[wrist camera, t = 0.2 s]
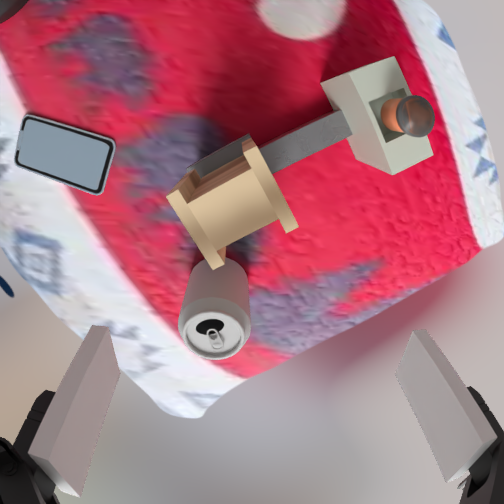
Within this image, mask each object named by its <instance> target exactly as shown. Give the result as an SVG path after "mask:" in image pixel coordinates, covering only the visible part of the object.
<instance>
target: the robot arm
mask: <svg viewBox="0 0 504 504" xmlns="http://www.w3.org/2000/svg"><path fill="white" fill-rule="evenodd" d="M28 1H29V0H0V23H2V22H4V21H6V20H8V19H9V18H10V17H12V16H13V15H14V14H16V13H17V12H18V11H19V10H20V9H21V8H22V7H23V6H24V5H25V4H26V3H27V2H28ZM395 376H396V378H397V379H398V382H399V384H400V385H401V387H402V389H403V391H404V393H405V395H406V397H407V399H408V401H409V403H410V405H411V407H412V410H413V411H414V414H415V415H416V418H417V420H418V422H419V424H420V426H421V428H422V430H423V432H424V435H425V437H426V439H427V441H428V443H429V445H430V447H431V450H432V452H433V454H434V456H435V459H436V461H437V463H438V465H439V468H440V470H441V472H442V475H443V477H444V479H445V482H446V483H447V482H449V481H452V480H454V479H457V478H459V477H461V476H462V475H463V474H464V473H465V472H466V471H467V470H469V472H470V475H469V476H468V477H467V478H466V479H465V480H464V481H462V483H460V485H459V486H458V489H460V488H461V487H462V486H463V485H464V484H465V483H466V484H465V487H464V488H463V494H462V497H461V500H460V504H504V431H503V430H502V428H501V426H500V425H499V423H498V422H497V420H496V418H495V417H494V415H493V414H492V412H491V411H489V407H488V406H487V404H485V401H484V400H483V398H482V397H481V395H480V394H479V393H478V392H477V391H476V390H475V389H473V388H472V387H471V386H470V387H466V386H465V384H464V383H463V381H462V380H461V379H460V377H459V375H458V374H457V372H456V371H455V370H454V368H453V367H452V365H451V364H450V362H449V361H448V359H447V358H446V357H445V355H444V354H443V353H442V351H441V349H440V348H439V347H438V346H437V344H436V343H435V341H434V340H433V338H432V337H431V336H430V334H429V333H428V332H427V330H426V329H424V330H413V331H412V334H411V336H410V339H409V342H408V344H407V346H406V349H405V351H404V354H403V356H402V359H401V361H400V363H399V366H398V368H397V370H396V373H395ZM119 377H120V370H119V367H118V363H117V359H116V356H115V352H114V348H113V344H112V340H111V336H110V331H109V327H104V326H95V325H92V327H91V328H90V330H89V332H88V334H87V335H86V337H85V339H84V341H83V343H82V344H81V346H80V348H79V350H78V352H77V353H76V355H75V357H74V359H73V361H72V362H71V364H70V366H69V368H68V370H67V372H66V374H65V376H64V378H63V379H62V381H61V383H60V385H59V387H58V389H57V391H56V392H52V391H48V390H45V391H44V392H43V393H42V394H41V395H40V396H38V397H37V398H36V400H35V402H34V404H33V406H32V408H31V411H30V412H29V414H28V416H27V419H26V420H25V421H24V424H23V426H22V428H21V430H20V432H19V434H18V436H17V438H16V441H15V442H14V444H13V446H12V445H11V443H10V442H9V441H7V440H6V439H5V438H2V437H0V504H60V503H59V501H58V499H57V496H56V495H55V493H54V489H55V486H57V487H58V488H59V489H60V490H61V491H62V492H65V493H68V494H71V495H74V496H78V497H81V494H82V491H83V487H84V484H85V480H86V477H87V473H88V469H89V466H90V463H91V459H92V456H93V453H94V449H95V447H96V444H97V440H98V437H99V434H100V431H101V428H102V425H103V422H104V419H105V416H106V413H107V410H108V407H109V404H110V401H111V398H112V396H113V393H114V390H115V387H116V384H117V382H118V379H119Z"/></svg>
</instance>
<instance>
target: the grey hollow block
mask: <svg viewBox="0 0 504 504" xmlns="http://www.w3.org/2000/svg"><path fill="white" fill-rule="evenodd" d="M320 84H321V86H322V88H323V90H324V92H325V94H326V96H327V98H328V100H329V102H330V104H331V106H332V108H333V110H342V112H343V114H344V116H345V118H346V120H347V123H348V125H349V127H350V129H351V131H352V134H353V135H351V136H349V137H347V140H348V142H349V144H350V147H351V149H352V151H353V154H354V156H355V158H356V160H359V161H361V162H363V163H366V164H368V165H370V166H373V167H375V168H377V169H380V170H382V171H384V172H386V173H389V174H391V175H394V174H396V173H398V172H400V171H402V170H404V169H406V168H408V167H410V166H412V165H414V164H416V163H418V162H420V161H422V160H424V159H426V158H428V157H430V156H432V155H433V152H432V149H431V146H430V143H429V140H428V137H427V135H426V136H424V137H419V138H418V137H412V136H409V135H407V134H405V133H403V132H397V131H392V130H390V129H388V128H387V127H386V126H385V125H384V124H383V122H382V119H381V108H382V105H383V104H384V103H385V102H386V101H387V100H389V99H396V98H404V97H406V96H412V95H411V92H410V90H409V87H408V85H407V83H406V80H405V78H404V76H403V74H402V72H401V69H400V67H399V65H398V63H397V61H396V59H395V57H394V56H393V57H390V58H386V59H383V60H380V61H377V62H374V63H371V64H368V65H365V66H362V67H359V68H356V69H354V70H351V71H349V72H346V73H344V74H341V75H339V76H336V77H334V78H331V79H329V80H326V81H324V82H322V83H320Z"/></svg>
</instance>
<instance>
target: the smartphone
mask: <svg viewBox="0 0 504 504" xmlns="http://www.w3.org/2000/svg"><path fill="white" fill-rule="evenodd" d="M115 150H116V143H115V141H114V140H113V139H111V138H108V137H104V136H101V135H98V134H95V133H92V132H88V131H85V130H82V129H79V128H76V127H73V126H69V125H66V124H63V123H59V122H56V121H54V120H50V119H45V118H42V117H38V116H35V115H31V114H30V115H26V116H24V118H23V119H22V123H21V127H20V131H19V136H18V141H17V146H16V151H15V156H14V163H15V165H16V166H17V167H19V168H22V169H25V170H27V171H30V172H33V173H36V174H38V175H41V176H44V177H47V178H49V179H52V180H55V181H57V182H60V183H63V184H66V185H68V186H71V187H74V188H77V189H79V190H82V191H85V192H88V193H90V194H93V195H100V194H101V193H103V191H104V189H105V185H106V181H107V178H108V174H109V170H110V167H111V163H112V160H113V157H114V153H115Z"/></svg>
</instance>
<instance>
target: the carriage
mask: <svg viewBox="0 0 504 504" xmlns="http://www.w3.org/2000/svg"><path fill="white" fill-rule="evenodd" d="M186 170H187V172H188V173H186V174H185V175H184V176H183V178H182V179H181V180H180V181H179V182H178V183H177V184H176V186H175V187H174V188H173V189H172V190H171V191H170V192H169V194H168V195H167V196H166V197H167V199H168V201H169V202H170V204H171V205H172V207H173V209H174V210H175V212H176V213H177V215H178V217H179V218H180V220H181V221H182V223H183V225H184V226H185V228H186V229H187V231H188V232H189V234H190V236H191V237H192V239H193V240H194V242H195V243H196V245H197V246H198V248H199V250H200V251H201V253H202V254H203V256H204V257H205V259H206V260H207V262H208V263H209V265H210V266H211V268H212V270H214V269H216V268H218V267H220V266H222V265H224V264H225V254H226V246H227V245H229V244H231V243H233V242H235V241H237V240H239V239H241V238H243V237H244V236H246V235H248V234H250V233H252V232H254V231H256V230H258V229H260V228H262V227H264V226H266V225H268V224H270V223H272V222H274V221H276V220H278V219H279V220H280V222H281V224H282V226H283V228H284V230H285V232H286V233H288V232H290V231H292V230H294V229H296V228H298V227H299V226H298V224H297V222H296V220H295V218H294V216H293V214H292V212H291V210H290V208H289V206H288V204H287V202H286V200H285V198H284V197H283V195H282V193H281V191H280V189H279V187H278V185H277V183H276V181H275V179H274V177H273V175H272V174H271V172H270V170H269V168H268V166H267V164H266V162H265V160H264V159H263V157H262V155H261V153H260V151H259V149H258V147H257V146H256V144H255V143H254V141H253V140H252V138H251V136H250V135H249V133H248V134H246V135H245V136H243V137H241V138H239V139H237V140H235V141H233V142H231V143H230V144H228V145H226V146H224V147H222V148H220V149H219V150H217V151H215V152H213V153H211V154H210V155H208V156H206V157H204V158H202V159H201V160H199V161H197V162H195V163H194V164H192V165H190V166H189V167H188V168H187V169H186Z"/></svg>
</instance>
